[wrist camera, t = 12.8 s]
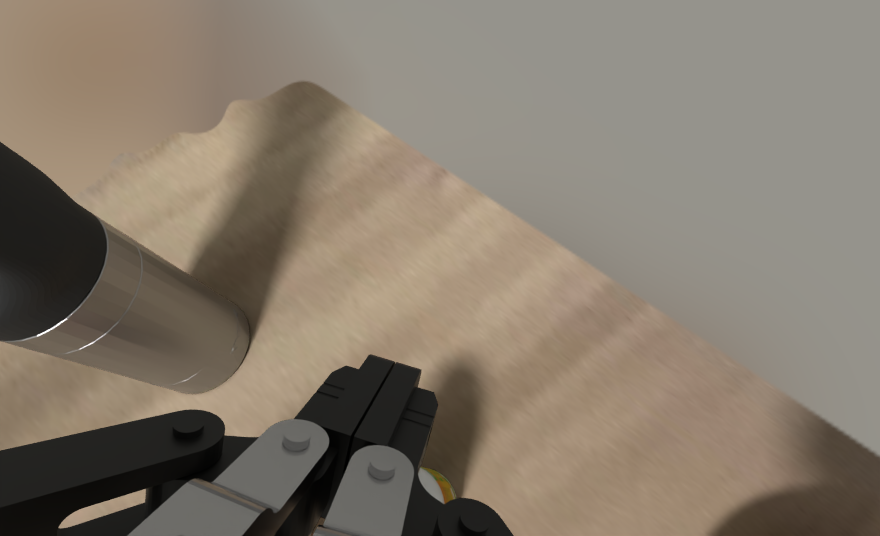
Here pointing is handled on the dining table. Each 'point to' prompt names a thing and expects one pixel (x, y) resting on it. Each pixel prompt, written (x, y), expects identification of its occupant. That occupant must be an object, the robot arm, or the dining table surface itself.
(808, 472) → the dining table surface
